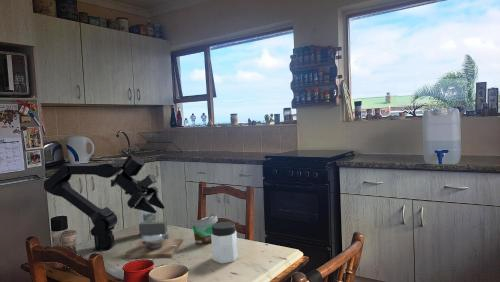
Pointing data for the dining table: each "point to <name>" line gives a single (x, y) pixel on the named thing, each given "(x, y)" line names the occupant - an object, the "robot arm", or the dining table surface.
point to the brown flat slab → (154, 249)
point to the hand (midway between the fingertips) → (159, 210)
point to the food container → (204, 229)
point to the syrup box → (148, 216)
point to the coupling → (153, 232)
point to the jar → (224, 242)
